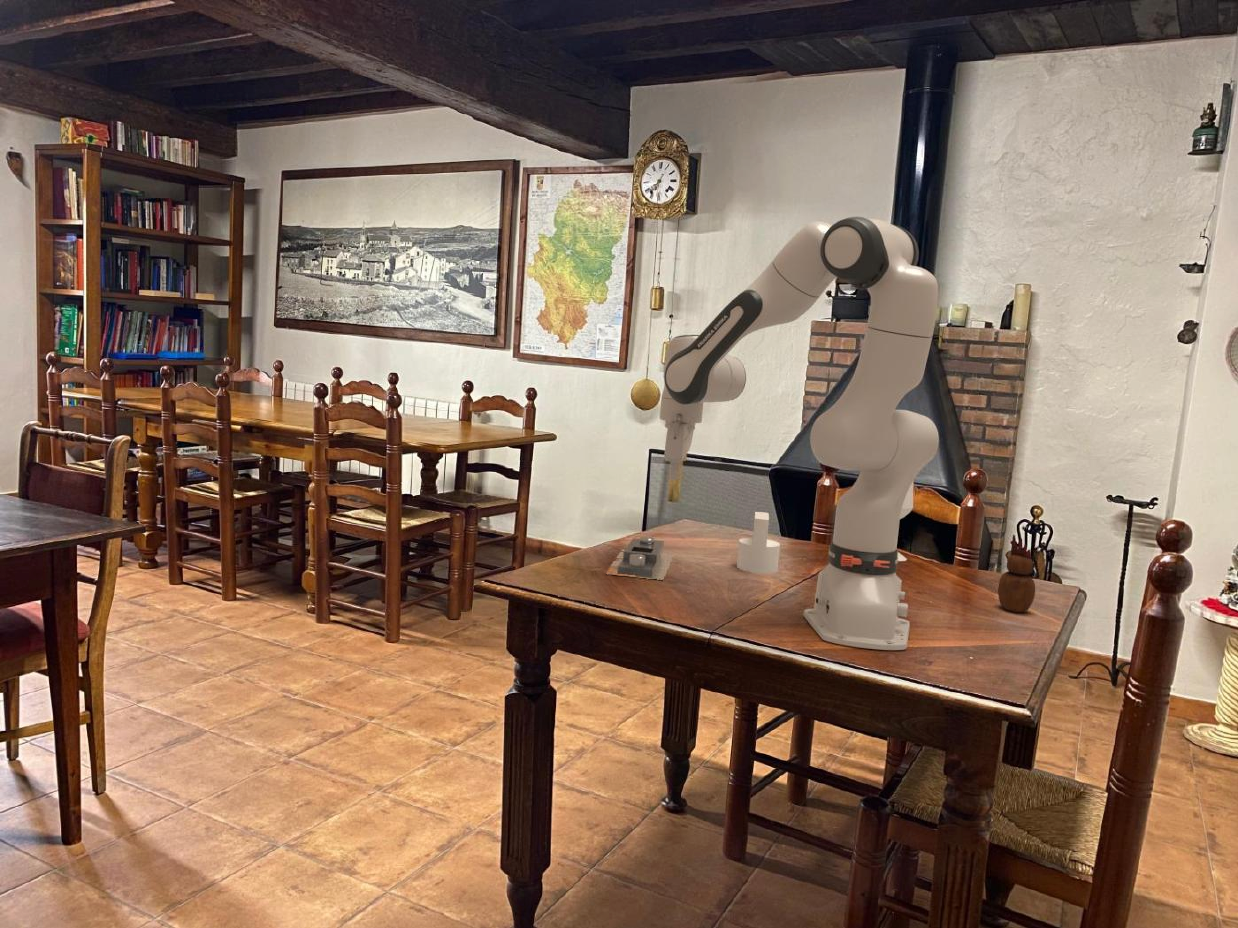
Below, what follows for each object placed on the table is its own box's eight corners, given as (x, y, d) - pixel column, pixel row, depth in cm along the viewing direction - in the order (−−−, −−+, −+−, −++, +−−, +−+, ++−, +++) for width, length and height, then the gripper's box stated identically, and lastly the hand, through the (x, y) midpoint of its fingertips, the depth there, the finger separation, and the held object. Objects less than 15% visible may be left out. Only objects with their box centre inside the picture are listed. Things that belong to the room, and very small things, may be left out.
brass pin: (681, 503, 188) (685, 456, 187) (662, 501, 189) (666, 455, 187) (683, 500, 192) (687, 454, 191) (664, 498, 193) (668, 452, 191)
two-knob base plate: (663, 581, 183) (664, 560, 183) (605, 574, 185) (606, 554, 184) (673, 556, 206) (675, 537, 205) (622, 550, 208) (623, 532, 207)
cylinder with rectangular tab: (777, 575, 195) (782, 521, 193) (736, 571, 196) (740, 517, 194) (777, 566, 203) (782, 514, 202) (737, 561, 205) (741, 510, 203)
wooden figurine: (990, 605, 182) (999, 533, 180) (1012, 604, 184) (1021, 532, 182) (1015, 615, 175) (1025, 540, 173) (1038, 614, 177) (1047, 540, 175)
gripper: (692, 418, 177) (685, 487, 179) (699, 410, 197) (693, 472, 199) (660, 415, 178) (654, 483, 180) (671, 407, 198) (665, 469, 200)
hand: (675, 477), depth 190 cm, fingers closed on brass pin, 3 cm apart
